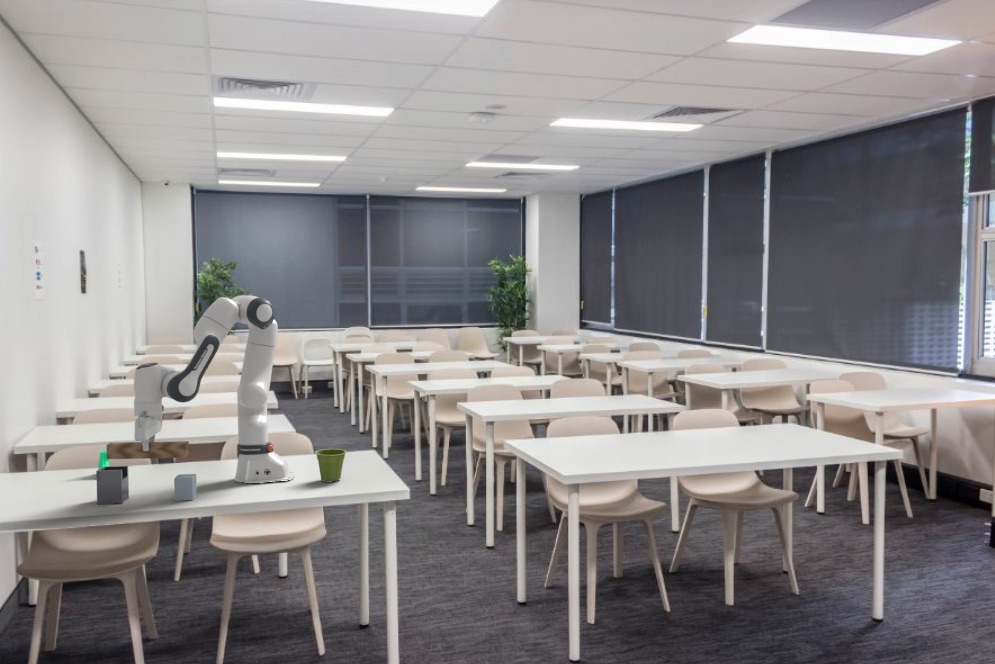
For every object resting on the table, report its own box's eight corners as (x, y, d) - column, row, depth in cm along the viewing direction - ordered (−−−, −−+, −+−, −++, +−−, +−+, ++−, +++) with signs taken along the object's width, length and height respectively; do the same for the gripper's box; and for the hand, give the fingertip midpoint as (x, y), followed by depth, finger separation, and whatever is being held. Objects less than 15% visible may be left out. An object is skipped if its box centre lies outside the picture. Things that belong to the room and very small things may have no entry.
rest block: (196, 496, 278) (196, 473, 277) (192, 500, 272) (192, 477, 271) (178, 496, 277) (178, 474, 276) (174, 501, 271) (174, 478, 270)
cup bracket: (128, 498, 275) (128, 465, 274) (121, 503, 267) (121, 470, 267) (104, 498, 274) (103, 466, 273) (97, 504, 266) (96, 471, 266)
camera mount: (119, 478, 305) (118, 452, 304) (97, 479, 303) (97, 453, 303) (125, 472, 317) (125, 446, 316) (105, 473, 315) (104, 447, 314)
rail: (188, 455, 276) (188, 441, 275) (186, 457, 272) (185, 443, 271) (110, 456, 272) (110, 442, 271) (106, 459, 268) (106, 444, 268)
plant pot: (317, 485, 294) (317, 455, 293) (313, 478, 305) (313, 450, 304) (349, 482, 298) (349, 453, 298) (343, 476, 309) (343, 447, 309)
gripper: (149, 414, 261) (149, 455, 262) (165, 405, 281) (165, 443, 282) (129, 414, 260) (129, 455, 261) (146, 405, 280) (147, 444, 281)
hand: (148, 449), depth 272 cm, fingers closed on rail, 4 cm apart
